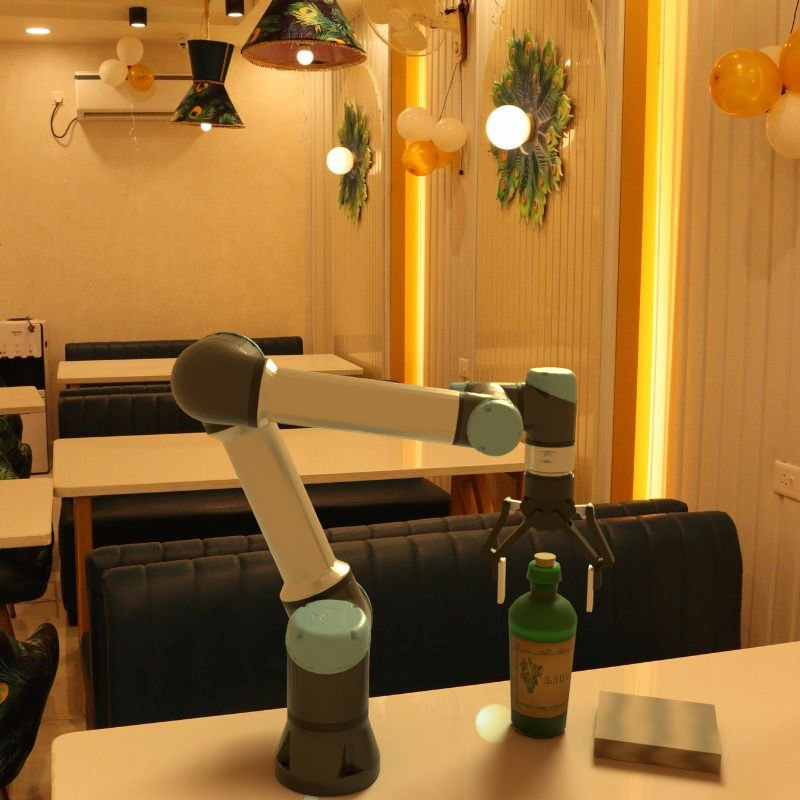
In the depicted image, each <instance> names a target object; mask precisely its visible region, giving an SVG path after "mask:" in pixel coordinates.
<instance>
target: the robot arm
mask: <svg viewBox="0 0 800 800" xmlns="http://www.w3.org/2000/svg"><path fill="white" fill-rule="evenodd" d="M577 387H578V386H577V375H576V374H575V373H574V372H573V371H572V370H570V369H568V368H563V367H562V368H561V367H546V366H545V367H535V368H530V369H529V370H527V373H526V377H525V380H524V381H520V382H517V381H516V382H498V381H497V382H496V381H495V382H494V381H493V382H492V381H490V382H489V381H488V382H487V381H472V380H468V381H463V382H462V381H461V382H458V381H457V382H451V383H450V384H448V386H447V388H438V387H433V386H432V387H430V386H424V385H416V384H408V383H402V382H393V381H387V380H385V381H384V380H378V379H372V378H365V377H364V378H362V377H355V376H350V375H349V376H348V375H347V376H346V375H340V374H334V373H333V374H331V373H325V372H317V371H310V370H304V369H303V370H301V369H294V368H287V367H279V366H277V365H276V364H275V363H274V361H273V360H272V359H271V358H269V357H265V355H264V352H263V351H262V349H261V348H260V347H259V345H258V344H257V343H256V342H255V341H253V340H252V339H251V338H249V337H248V336H245V335H244V334H241V333H237V332H232V331H218V332H215V333H211V334H210V333H209V334H207V335H206V336H204V337H201V338H200V339H199V340H197V341H196V342H195V343H192V344H191V345H189V346H187V347H186V348H185V349H184V350H183V351H182V352H180V354H179V355H178V356H177V358H176V360H175V361H174V363H173V366H172V369H171V373H170V388H171V393H172V396H173V398H174V400H175V402H176V404H177V405H178V407H179V408H180V409H181V410H182V411H183V412H184V413H185V414H187V415H188V416H190V417H191V418H192V419H195V420H197V421H200V422H201V423H202V426H203V428H204V430H205V433H206V435H207V437H211V438H212V439H216V440H218V441H220V442H221V443H222V445H223V447H224V450H225V453H226V454H227V457H228V458H229V462H230V463H231V465H232V468H233V470H234V472H235V474H236V476H237V479H238V481H239V484H240V486H241V488H242V490H243V492H244V495H245V497H246V499H247V501H248V503H249V506H250V508H251V510H252V512H253V516H254V517H255V519H256V522H257V524H258V526H259V529H260V530H261V533H262V535H263V538H264V539H265V542H266V544H267V546H268V549H269V551H270V553H271V555H272V557H273V559H274V562H275V565H276V566H277V569H278V572H279V573H280V576H281V578H282V581H283V586H282V588H281V591H280V593H279V598H280V600H281V603H282V604H283V607H284V609H285V611H286V614H287V616H288V618H289V619H288V623H287V628H286V632H285V639H284V640H285V647H286V683H287V684H286V705H287V706H286V707H287V708H286V722H285V724H284V726H283V727H284V728H283V731H282V733H281V736H280V739H279V743H278V746H277V748H276V751H275V755H274V773H275V777H276V778H277V780H278V781H279V783H280V784H281V785H283V786H284V787H285V788H287V789H289V790H290V791H292V792H295V793H297V794H301V795H305V796H309V797H316V798H317V797H318V798H336V797H340V796H341V797H342V796H346V795H350V794H351V795H352V794H354V793H357V792H359V791H361V790H364V789H365V788H368V787H369V786H370V785H372V784H373V783H374V782H375V780H377V778H378V777H379V775H380V771H381V751H380V749H379V745H378V743H377V740H376V736H375V733H374V730H373V727H372V725H371V722H370V718H369V717H370V715H369V709H370V708H369V707H370V706H369V704H370V703H369V701H370V699H369V698H370V657H371V656H370V651H371V650H370V649H371V642H372V641H371V640H372V631H371V630H372V628H373V618H374V617H373V608H372V607H373V606H372V604H371V603H372V602H371V601H370V598H369V596H368V594H367V592H366V591H365V589H364V588H363V587H362V586H361V585H360V584H359V582H357V581H356V577H355V576H354V574H353V572H352V569H351V566H350V565H349V563H347V562H346V561H345V562H344V561H343V560H342V561H341V560H339V559H337V558H336V556H335V554H334V552H333V549H332V547H331V546H330V545H331V544H330V543H329V541H328V538H327V536H326V534H325V532H324V529H323V526H322V524H321V522H320V521H319V518H318V516H317V513H316V511H315V508H314V506H313V503H312V501H311V499H310V497H309V495H308V492H307V490H306V488H305V486H304V483H303V480H302V479H301V476H300V473H299V472H298V469H297V467H296V464H295V462H294V460H293V458H292V455H291V453H290V451H289V448H288V446H287V444H286V442H285V441H286V440H285V439H284V437H283V435H282V433H281V430H280V428H279V426H278V424H283V425H291V426H298V427H299V426H300V427H306V428H307V427H308V428H314V429H315V428H316V429H323V430H329V431H338V432H346V433H354V434H361V435H363V434H364V435H371V436H379V437H386V438H395V439H401V440H402V439H403V440H409V441H410V440H411V441H417V442H426V443H434V444H435V443H436V444H443V445H449V446H457V447H461V448H470V449H471V448H472V449H474V450H476V451H477V452H479V453H481V454H483V455H485V456H489V457H502V456H506V455H507V454H509V453H511V452H512V451H514V450H515V449H516V448H517V446H518V445H519V444H520V443H521V440H522V438H523V435H525V436H524V458H523V459H524V464H523V466H524V467H525V469H526V470H525V471H524V473H523V495H522V496H523V497H522V500H517V499H512V497H510V496H507V497H505V498H504V500H503V502H502V503H501V504H502V505H501V511H500V515H499V517H498V518H497V520H496V522H495V524H494V525H493V528H492V530H491V531H490V532H489V535H488V536H487V538H486V539H485V542H484V543H483V545H482V547H481V549H480V551H479V555H480V557H483V558H488V559H489V560H490V561H491V569H490V570H491V573H490V575H491V581H495V582H497V604H500V605H501V604H503V603H504V601H505V599H506V598H505V597H506V567H507V566H506V565H507V564H506V562H507V561H506V560H507V558H506V557H503V556H504V555H505V554H507V552H508V551H509V550H510V549H512V547H513V546H514V545H515V544H516V543H517V542H518V541H519V540H520V539H521V538H522V537H523V536H524V535H525V534H526V533H527V532H528V531H529V530H531V528H532V529H534V530H536V532H544V531H546V532H547V531H548V532H551V533H558V532H560V531H562V532H563V533H564V535H565V536H566V537H568V538H569V540H571V542H572V543H573V544H574V546H575V547H576V548H577V549H578V550H579V551H580V553H581V555H582V556H583V558H585V559H586V560H587V561H586V562H588V563H589V566H588V571H587V593H586V612H589V613H592V612H593V605H594V590H596V591H597V590H598V591H600V589H601V586H602V573H603V572H602V570H603V569H605V568H613V567H614V565H615V557H614V554H613V552H612V550H611V548H610V546H609V544H608V541H607V540H606V537H605V535H604V533H603V531H602V529H601V527H600V525H599V522H598V520H597V517H596V513H595V504H594V503H593V502H591V501H590V502H587V503H586V504H576V503H575V501H574V496H575V495H574V494H575V493H574V490H575V489H574V488H575V487H574V486H575V474H574V473H573V472H572V471H573V470H574V469H575V463H576V429H577V426H576V425H577V411H578V410H577V407H578V401H579V400H578V392H577V391H578V389H577ZM517 510H520V512H521V514H522V515H523V516H524V519H523V520H522V521H521V523H520V524H519V525H518V526H517V527H516V528H515V529H514V530H513V531H512V532H511V533H510V534H509V536H507V538H505V539H504V540H503V541H502V543H501V544H499V545H498V547H497V548H496V549H494V548H492V547H493V546H494V544H495V542H496V540H497V538H498V537H499V534H500V532H501V531H502V530H503V528H504V526H505V524H506V522H507V520H508V518H509V516H510V515H514V514H515V512H516V511H517ZM576 514H579V516H580V518H581V519H582V520H585V521H586V525H587V527H588V529H589V530H588V531H589V532H590V534H591V536H592V539H593V540H594V542H595V544H596V545H595V546H596V547H597V549H598V551H599V553H600V555H601V557H600V555H598V554H597V552H596V551H595V550H594V548H593V547H592V546H591V545H590V544H589V542H588V541H587V540H586V538H585V537H584V536H583V535H582V534H581V532H580V531H579V530H578V529H577V527H576V525H575V524H574V522H573V521H572V518H573V517H574V516H575V515H576Z"/></svg>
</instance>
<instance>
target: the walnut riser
mask: <svg viewBox="0 0 800 800" xmlns="http://www.w3.org/2000/svg"><path fill="white" fill-rule="evenodd" d="M598 696H599V697H598V702H597V703H598V704H597V713H596V722H595V733H594V741H593V742H594V744H593V757H596V758H603V759H611V760H617V761H618V760H619V761H625V762H631V763H639V764H647V765H655V766H661V767H662V766H663V767H670V768H678V769H684V770H691V771H700V772H707V773H713V774H721V765H722V750H721V741H720V734H719V729H718V720H717V713H716V705H715V704H712V703H704V702H703V703H702V702H695V701H686V700H677V699H672V698H671V699H670V698H662V697H653V696H647V695H646V696H645V695H636V694H629V693H621V692H620V693H619V692H612V691H604V690H599V695H598Z"/></svg>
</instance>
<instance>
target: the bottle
mask: <svg viewBox="0 0 800 800" xmlns="http://www.w3.org/2000/svg"><path fill="white" fill-rule="evenodd" d="M556 559H557V556H556V555H555V554H553V553H550V552H537V553H535V554H534V560H531V561H530V562H529V563H528V568H527V572H526V579H527V581H529V585H530V587H529V589H530V591H527V592H526V593H524V594H522V595H520V596H519V597H518V598H517V599H515V600H514V602H513V603H512V605H511V606H510V607H509V608H508V644H509V645H508V646H509V651H508V652H509V682H510V683H509V686H510V687H509V689H510V690H509V692H510V696H509V697H510V722H511V726H512V727H513V728H514V729H515V730H517V731H518V732H519V733H521V734H523V735H527V736H530V737H534V738H551V737H553V736H556V735H559V734H561V733H563V731H564V730H565V729H566V728H567V718H568V710H569V700H570V690H571V683H572V674H573V673H572V672H573V663H574V653H575V645H576V644H575V643H576V638H577V637H576V636H577V635H576V634H577V625H578V615H577V613H576V611H575V609H574V607H573V605H572V603H571V602H570V600H568V599H566V598H565V597H563V596H562V595H561V594H559V593H558V589H559V588H558V587H559V584H560V582H562V581H563V576H562V570H561V569H562V568H561V565H560V563H559V562H557V561H556Z"/></svg>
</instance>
